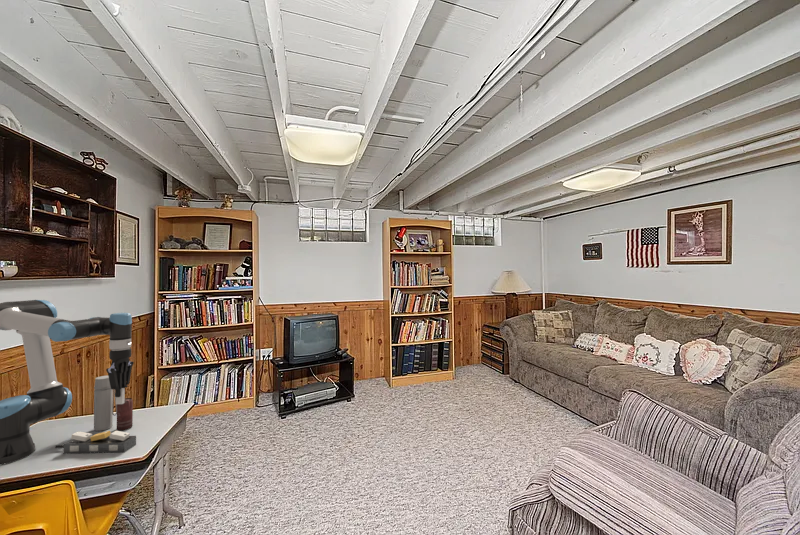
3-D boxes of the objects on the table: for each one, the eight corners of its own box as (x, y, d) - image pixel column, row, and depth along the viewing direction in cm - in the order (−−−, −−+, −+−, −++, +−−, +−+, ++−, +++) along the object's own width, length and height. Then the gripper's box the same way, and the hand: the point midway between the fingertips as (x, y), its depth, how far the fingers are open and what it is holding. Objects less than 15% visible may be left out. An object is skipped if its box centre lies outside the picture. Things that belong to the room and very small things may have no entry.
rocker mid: (91, 441, 152) (90, 437, 152) (97, 437, 155) (96, 433, 155) (105, 438, 152) (104, 433, 152) (111, 434, 155) (110, 430, 155)
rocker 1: (70, 438, 151) (71, 434, 151) (77, 435, 155) (78, 431, 155) (85, 441, 151) (86, 437, 152) (91, 438, 155) (92, 433, 155)
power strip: (48, 454, 149) (48, 444, 149) (63, 446, 156) (63, 436, 156) (124, 452, 150) (124, 443, 150) (136, 444, 157) (136, 435, 157)
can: (124, 431, 170) (124, 402, 171) (113, 430, 172) (113, 401, 172) (136, 426, 176) (136, 397, 177) (125, 425, 178) (125, 397, 178)
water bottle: (97, 433, 169) (97, 380, 169) (90, 429, 173) (91, 377, 173) (120, 426, 177) (120, 375, 177) (113, 422, 181) (114, 373, 181)
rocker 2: (109, 438, 152) (110, 433, 152) (115, 434, 155) (116, 430, 155) (123, 440, 152) (124, 436, 152) (128, 437, 155) (129, 433, 155)
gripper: (118, 352, 148) (117, 409, 147) (139, 345, 161) (139, 398, 160) (99, 352, 148) (98, 409, 147) (123, 345, 161) (122, 398, 160)
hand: (120, 403), depth 154 cm, fingers closed
